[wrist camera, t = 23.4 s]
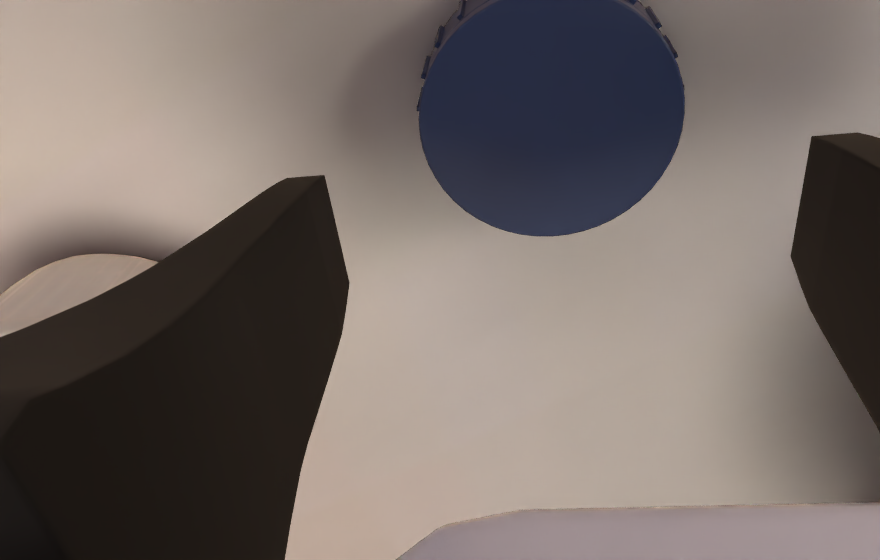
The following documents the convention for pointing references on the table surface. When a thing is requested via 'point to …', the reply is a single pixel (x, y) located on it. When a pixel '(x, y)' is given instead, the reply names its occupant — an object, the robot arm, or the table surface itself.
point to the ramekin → (64, 287)
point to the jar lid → (550, 111)
